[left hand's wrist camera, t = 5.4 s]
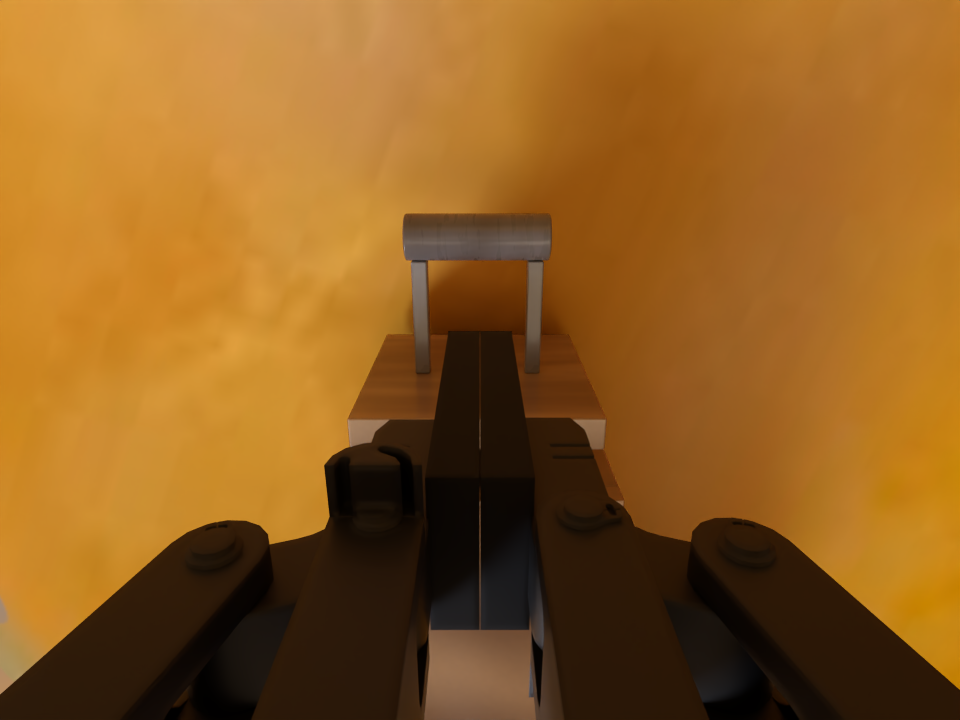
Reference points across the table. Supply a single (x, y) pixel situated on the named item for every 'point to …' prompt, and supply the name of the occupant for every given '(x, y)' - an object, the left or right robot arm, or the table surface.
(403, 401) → the drawer
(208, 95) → the table surface
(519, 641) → the cabinet
